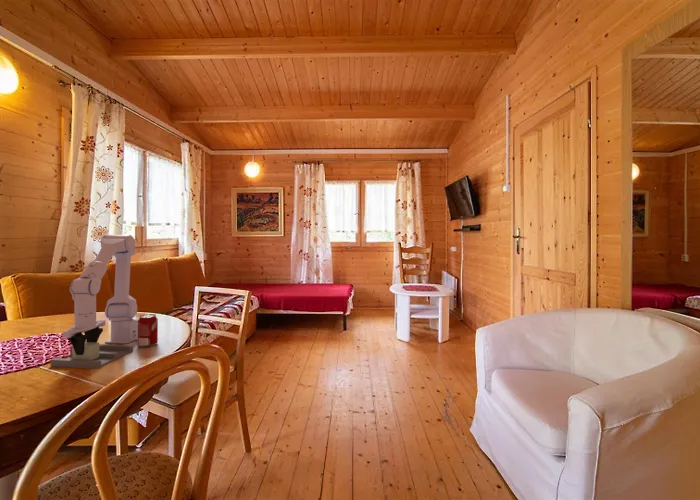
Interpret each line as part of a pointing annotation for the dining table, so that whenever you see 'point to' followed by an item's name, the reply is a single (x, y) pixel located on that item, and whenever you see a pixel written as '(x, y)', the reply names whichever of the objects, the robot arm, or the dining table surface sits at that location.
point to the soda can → (147, 330)
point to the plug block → (88, 351)
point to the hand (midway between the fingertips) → (85, 352)
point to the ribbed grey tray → (105, 356)
